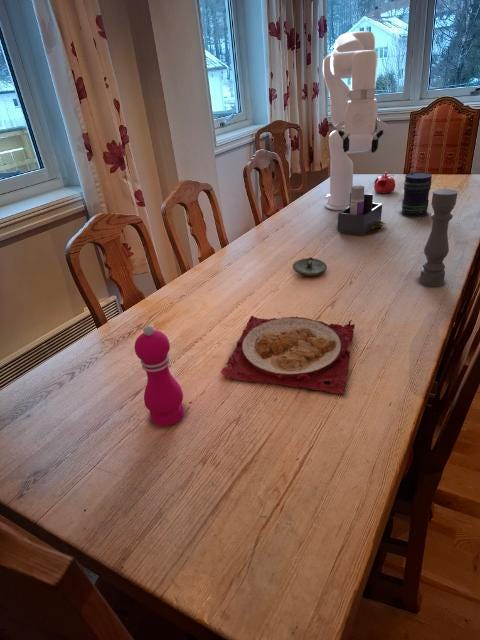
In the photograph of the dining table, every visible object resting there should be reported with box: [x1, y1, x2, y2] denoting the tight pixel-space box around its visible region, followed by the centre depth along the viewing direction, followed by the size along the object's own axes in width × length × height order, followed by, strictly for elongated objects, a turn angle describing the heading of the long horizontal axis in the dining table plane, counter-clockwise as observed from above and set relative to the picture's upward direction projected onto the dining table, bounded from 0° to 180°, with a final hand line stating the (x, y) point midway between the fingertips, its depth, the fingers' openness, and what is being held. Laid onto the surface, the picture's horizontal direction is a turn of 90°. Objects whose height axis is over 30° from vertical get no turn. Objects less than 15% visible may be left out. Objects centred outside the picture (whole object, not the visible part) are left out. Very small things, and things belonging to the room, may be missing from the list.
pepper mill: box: [134, 324, 185, 427], centre depth 77 cm, size 7×7×20 cm
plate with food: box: [220, 315, 356, 395], centre depth 96 cm, size 24×26×3 cm
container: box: [350, 185, 365, 215], centre depth 157 cm, size 5×5×15 cm
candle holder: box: [419, 188, 458, 288], centre depth 114 cm, size 6×6×25 cm
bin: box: [337, 193, 383, 236], centre depth 160 cm, size 17×10×12 cm, turn 142°
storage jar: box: [400, 171, 433, 218], centre depth 169 cm, size 10×10×15 cm
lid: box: [292, 257, 328, 277], centre depth 133 cm, size 11×10×5 cm
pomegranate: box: [373, 171, 396, 194], centre depth 202 cm, size 10×10×9 cm
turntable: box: [342, 224, 382, 236], centre depth 164 cm, size 16×16×1 cm
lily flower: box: [372, 220, 386, 229], centre depth 163 cm, size 12×12×5 cm
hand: (359, 151), depth 147 cm, fingers open, 9 cm apart
